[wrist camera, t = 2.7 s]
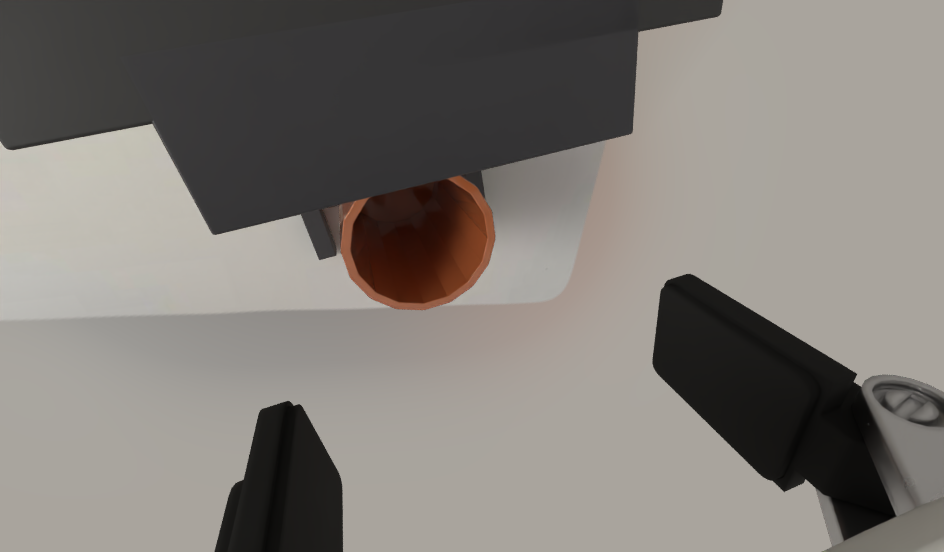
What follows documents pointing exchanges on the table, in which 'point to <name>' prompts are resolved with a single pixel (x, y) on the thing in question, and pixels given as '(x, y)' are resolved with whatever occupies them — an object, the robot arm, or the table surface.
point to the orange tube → (418, 243)
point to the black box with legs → (326, 89)
